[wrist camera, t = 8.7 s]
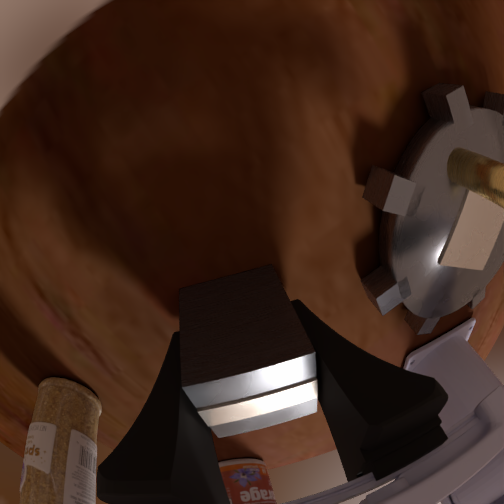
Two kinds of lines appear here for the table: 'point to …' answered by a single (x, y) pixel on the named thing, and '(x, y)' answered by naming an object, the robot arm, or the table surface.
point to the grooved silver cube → (245, 353)
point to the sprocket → (441, 211)
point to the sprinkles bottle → (61, 445)
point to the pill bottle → (247, 481)
